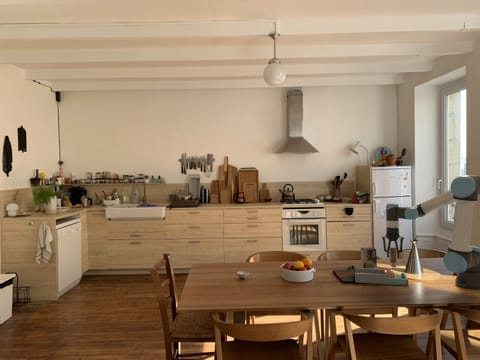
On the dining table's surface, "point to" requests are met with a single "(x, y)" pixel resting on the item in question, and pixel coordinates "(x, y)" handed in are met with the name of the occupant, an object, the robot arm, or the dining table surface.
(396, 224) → the robot arm
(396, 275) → the cream cube
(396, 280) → the chute tray
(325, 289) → the dining table surface
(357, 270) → the slot board
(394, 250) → the brown block with tab
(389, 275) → the peach cube block
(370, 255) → the coffee box
